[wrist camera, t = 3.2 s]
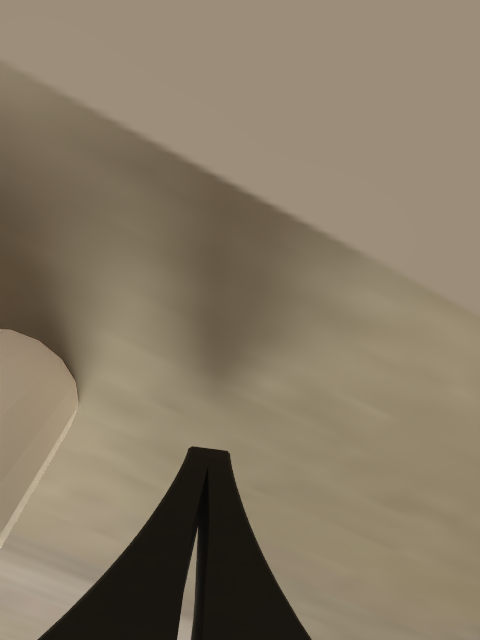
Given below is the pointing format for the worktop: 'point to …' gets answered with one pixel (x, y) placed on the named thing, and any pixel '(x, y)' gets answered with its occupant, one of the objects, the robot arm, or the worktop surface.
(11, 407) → the white cylinder
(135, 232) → the worktop surface
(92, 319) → the worktop surface
